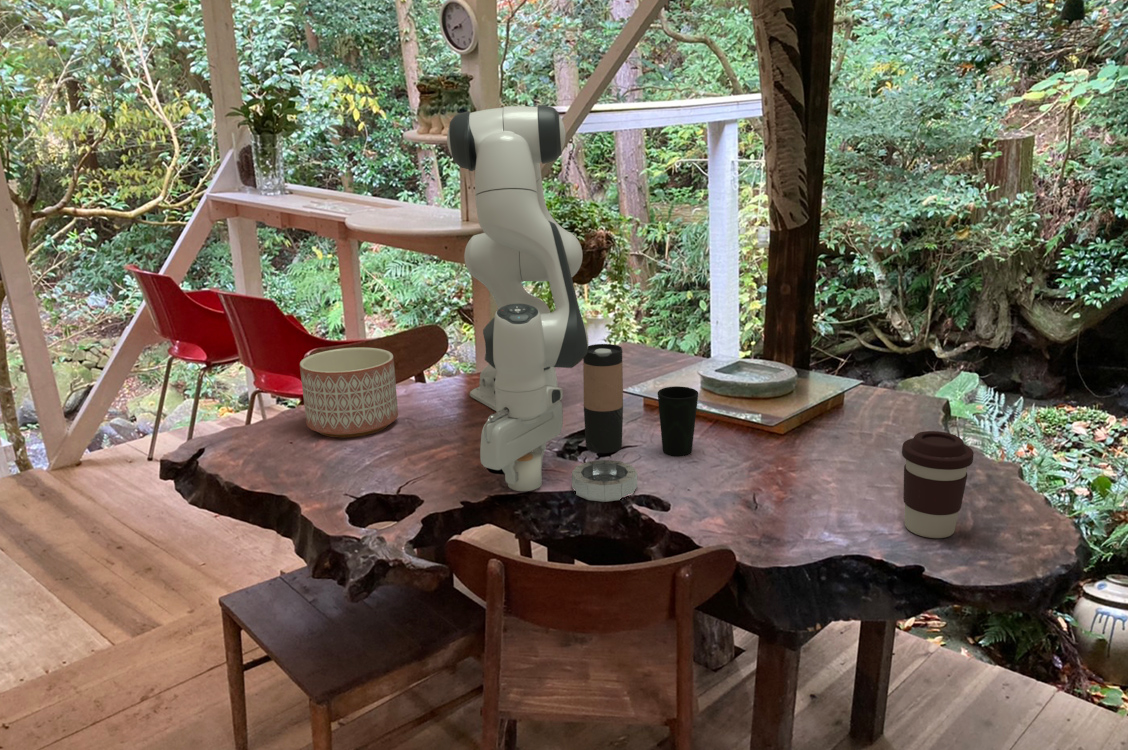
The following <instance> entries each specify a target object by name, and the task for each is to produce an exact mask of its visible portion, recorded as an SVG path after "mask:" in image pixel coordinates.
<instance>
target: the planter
mask: <svg viewBox="0 0 1128 750" xmlns="http://www.w3.org/2000/svg"><path fill="white" fill-rule="evenodd" d="M395 370H396V369H395V359H394V355H393V353H392V352H391V351H389V350H385V349H382V348H376V347H364V346H363V347H345V348H344V347H343V348H337V349H329V350H325V351H320V352H317V353H314V354H310V355H309V356H306V357H304V358H303V359H301V361H300V362H299V371H300V377H301V379H300V380H301V388H302V396H303V404H304V412H305V422H306V425H307V427H308V428H309V429H310V430H311V431H313V432H317V433H319V434H320V435H322V436H325V437H330V438H331V437H332V438H340V439H341V438H357V437H363V436H368V435H371V434H375V433H379V431H380V432H381V431H382V430H384V429H386V428H387V427H388V426H389V425H390V424H392V423H394V422H395V421H396V420H397V418H398V417H399V407H398V395H397V394H398V393H397V384H396V383H397V382H396V373H395Z"/></svg>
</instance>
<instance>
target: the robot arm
mask: <svg viewBox="0 0 1128 750" xmlns="http://www.w3.org/2000/svg"><path fill="white" fill-rule="evenodd" d="M566 133H567V132H566V128H565V123H564V121H563V119H562V117H561V116H560V112H559V111H558V110H557V109H556V108H555V107H553V106H549V105H542V104H541V105H540V104H538V105H537V106H526V105H519V106H518V105H509V106H503V107H496V108H489V109H488V108H487V109H483V110H477V111H473V112H471V111H470V110H467V111H464V112H461V113H458V114H456V115H454V116H453V117H452V119H450V122H449V127H448V130H447V133H446V134H447V136H446V143H447V149H448V151H449V154H450V156H451V158H452V160H453V162H454V163H455V164H456V165H458V167H460V168H462V169H464V170H465V169H466V170H468V171H470V172H474V195H475V206H476V207H475V209H476V215H477V221H478V225H479V227H480V228H481V230H482V231H483V232H482V233H478V234H474V235H472V236H471V238H470V239H469V240H468V242H467V243H466V245H465V249H464V256H463V257H464V265H465V266H466V269H467V272H469V274H470V275H471V276H472V277H473V278H474V279H476V280H477V281H478V282H480V283H481V284H482V285H484V287H486V289H487V290H488V291H489V293H490V294H491V296H492V298H493V299H494V302H495V304H496V305H497V310H496V311H495V314H494V317H493V318H492V319H491V320H489V322H488V323H487V324H486V325H485V326H484V327H483V330H482V333H483V339H484V347H485V350H484V351H485V352H484V353H485V354H484V361H485V362H486V363H488V365H486V366H485V367H484V368H483V369H482V370H480V371H481V372H480V374H479V386H478V387H475V388H473V389H472V390H471V391H469V397H471V398H472V399H474V400H476V401H477V402H479V403H481V404H483V405H485V406H487V407H488V408H490V409H491V410H493V411H495V413H492V414H490V415H489V416H488V417H487V420H486V422H485V424H484V425H483V428H482V430H481V435H480V449H479V450H480V453H479V454H480V456H479V459H480V463H481V465H483V467H484V468H487V469H490V470H494V471H501V470H502V472H503V474H504V478H505V483H506V484H508V483H509V484H514V483H516V482H517V481H518V480H519V478H518V472H515V471H514V469H513V466H514V465H515V460H517V459H519V458H520V457H522V456H524V455H526V454H527V453H529V452H535V453H538V454H539V455H540V456H541V467H542V466H543V457H544V454H545V451H546V449H547V443H548V442H549V441H552V439H555V438H556V437H557V436H559V435H560V434H561V432H562V429H563V424H564V423H563V421H564V416H563V413H564V412H563V411H564V409H563V404H562V401H561V400H562V399H563V397H564V391H563V388H562V387H559V384H558V378H557V371H556V369H557V368H558V369H559V368H561V369H572V368H575V366H577V365H578V364H579V363H580V362H582V361H583V358H584V357H585V356H586V354H587V352H588V346H589V335H588V331H587V328H586V325H585V322H584V319H583V317H582V313H581V311H580V310H581V309H580V306H579V302H578V299H577V295H576V290H575V286H574V281H573V277H574V276H576V274H578V272H579V270H580V269H581V266H582V263H583V249H582V245H581V243H580V241H579V239H578V238H577V236H575V235H574V234H573V233H572V232H569V231H568V230H566V229H565V228H563V227H562V226H561V225H560V224H559V223H558V222H557V221H556V219H554V217H553V216H552V214H551V213H550V211H549V209H548V207H547V203H546V200H545V194H544V189H543V188H544V187H543V179H542V170H541V164H542V165H544V164H548V163H550V162H554V161H557V160H558V159H559V157H560V156H561V155H562V154H563V152H562V151H563V150H564V146H565V142H566V138H567V137H566V136H567V135H566ZM523 282H548V283H549V287H550V290H551V295H552V300H553V303H554V307H555V308H554V310H553V311H551V310H550V308H549V306H548V304H547V303H546V302H545V301H543V300H542V299H541V298H538V297H537V296H535V295H532V294H531V293H530V292H528V291H527V290H526V289H525V287H524V286H523V284H522V283H523Z"/></svg>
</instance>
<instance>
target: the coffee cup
mask: <svg viewBox="0 0 1128 750" xmlns="http://www.w3.org/2000/svg"><path fill="white" fill-rule="evenodd" d="M901 447H902V448H901V454H902V457H903V458H904V459H905V463H904V466H903V503H904V526H905V528H906V529H907V530H908V531H909V532H911V533H913V534H915V535H917V536H920V537H923V538H929V539H943V538H945V539H946V538H948V537H950V536H952V535H953V534H954V533H955V531H956V527H957V521H958V516H959V512H960V510H961V508H962V504H963V499H964V494H965V489H966V485H967V479H968V471H967V470H968V467H970V466H971V465H972V464H973V461H974V453H975V452H974V450H973V449H972V448H971V447H970V446H969V445H967V444H965V442H964V440H963V439H962V438H961V437H960V436H959V435H955V434H954V433H953V434H952V433H950V432H945V431H939V430H927V431H920V432H918V433H916V434H915V435H914V436H913V437H912V438H909V439H906V440H905V441H903V443H902V445H901Z"/></svg>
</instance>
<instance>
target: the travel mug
mask: <svg viewBox="0 0 1128 750" xmlns="http://www.w3.org/2000/svg"><path fill="white" fill-rule="evenodd" d="M582 361H583V362H582V365H583V366H582V368H583V369H582V370H583V371H582V372H583V374H582V375H583V414H584V415H583V417H584V418H583V420H584V437H585V438H584V439H585V448H586V450H588V451H589V452H592V453H596V454H610V453H615V452H618V451H620V450H621V449H622V448H623V427H624V425H623V423H624V421H623V419H624V382H623V381H624V379H623V377H624V376H623V375H624V372H623V368H624V367H623V348H622V347H621V346H620V345H617V344H613V343H612V344H610V343H597V344H596V343H595V344H588V352H587V354H586V356H585V357H584V358H583V359H582Z"/></svg>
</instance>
